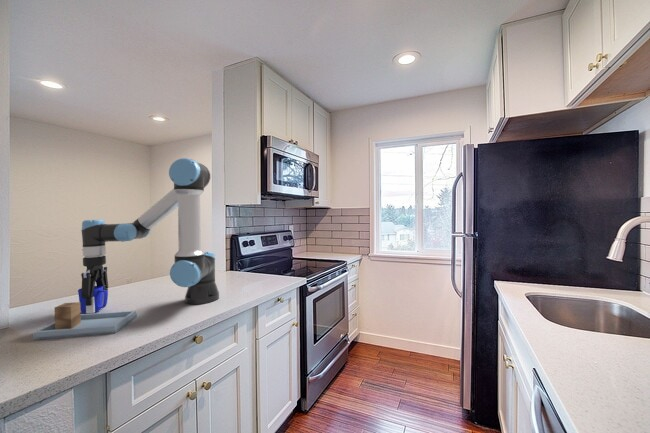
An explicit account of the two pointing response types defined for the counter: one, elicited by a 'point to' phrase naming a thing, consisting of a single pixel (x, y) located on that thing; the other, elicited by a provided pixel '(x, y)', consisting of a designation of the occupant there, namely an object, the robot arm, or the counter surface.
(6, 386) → the counter surface
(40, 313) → the counter surface
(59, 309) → the walnut block
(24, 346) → the counter surface
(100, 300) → the mug
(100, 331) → the tray
